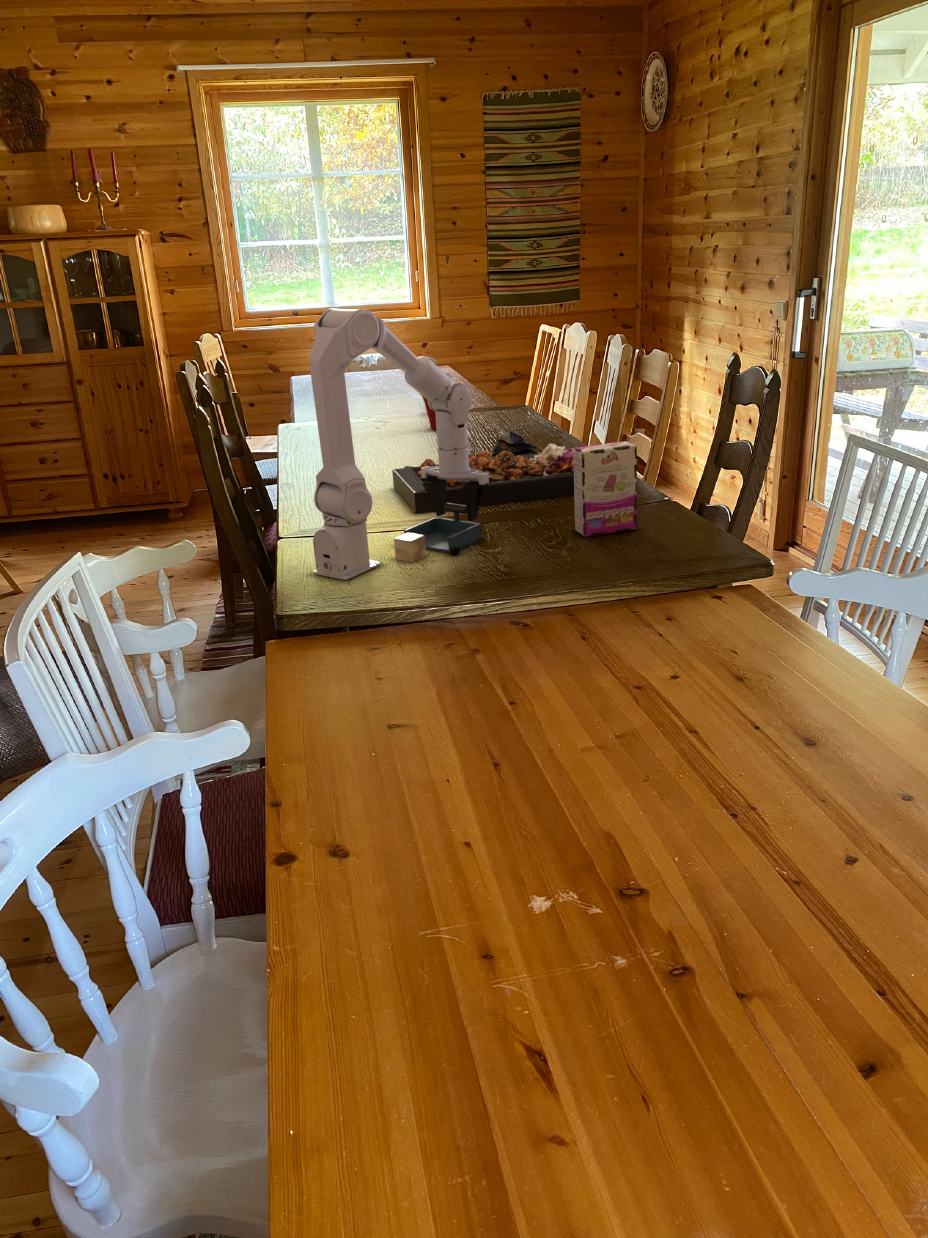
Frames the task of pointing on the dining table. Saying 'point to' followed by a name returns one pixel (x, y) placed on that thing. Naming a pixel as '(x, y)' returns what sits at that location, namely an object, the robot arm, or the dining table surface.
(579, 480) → the candy bar box
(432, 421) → the plastic cup
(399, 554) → the block
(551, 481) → the food platter
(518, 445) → the snack package
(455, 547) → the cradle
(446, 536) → the tray
